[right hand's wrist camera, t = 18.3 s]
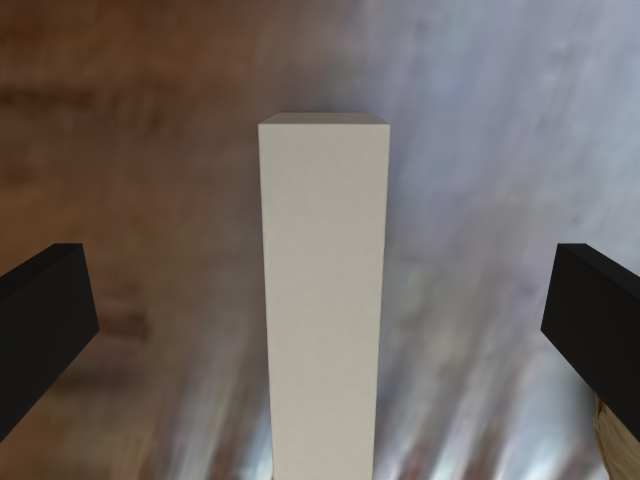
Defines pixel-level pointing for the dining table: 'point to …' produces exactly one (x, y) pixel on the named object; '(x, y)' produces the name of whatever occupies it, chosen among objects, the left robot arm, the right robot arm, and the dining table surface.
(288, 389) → the box
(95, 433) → the dining table surface
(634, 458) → the fossil
